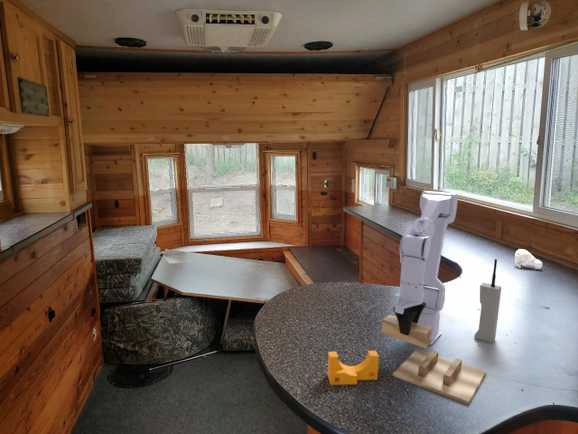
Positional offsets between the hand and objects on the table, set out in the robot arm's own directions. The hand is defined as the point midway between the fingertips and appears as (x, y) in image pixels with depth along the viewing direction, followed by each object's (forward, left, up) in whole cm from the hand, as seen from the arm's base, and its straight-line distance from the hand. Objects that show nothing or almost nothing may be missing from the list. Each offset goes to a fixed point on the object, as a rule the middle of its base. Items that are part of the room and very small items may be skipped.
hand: (408, 330), depth 109 cm
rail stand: (0, +9, -9) cm, 13 cm away
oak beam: (0, 0, -2) cm, 2 cm away
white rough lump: (-122, +11, -9) cm, 122 cm away
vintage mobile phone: (-29, +13, -9) cm, 33 cm away
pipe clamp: (+16, -7, -9) cm, 20 cm away
